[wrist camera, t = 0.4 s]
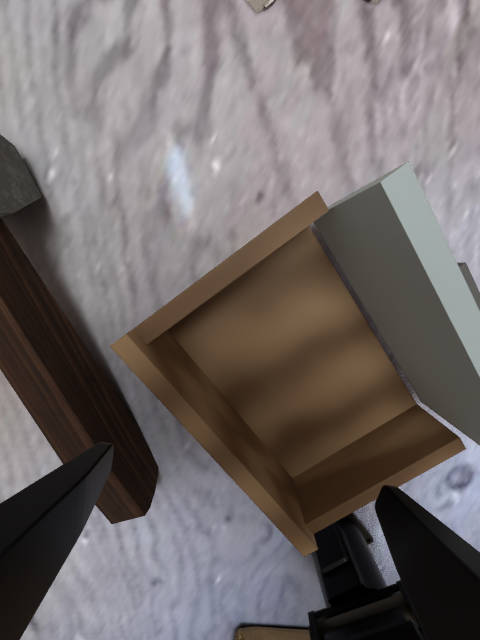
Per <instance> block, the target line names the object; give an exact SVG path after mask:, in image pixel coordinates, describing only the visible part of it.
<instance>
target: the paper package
mask: <svg viewBox="0 0 480 640" xmlns="http://www.w3.org/2000/svg"><path fill="white" fill-rule="evenodd" d="M234 640H311V639H310V633H309V630H301V629H285V628H271V627H259V626H256V627H246V628H239V629H238V630H237V632H236V634H235V637H234Z"/></svg>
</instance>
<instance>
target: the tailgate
mask: <svg viewBox="0 0 480 640" xmlns="http://www.w3.org/2000/svg"><path fill="white" fill-rule="evenodd" d="M327 208H328V210H329V211H328V212H327V213H325V214H324V215H322V216H321V217H320V218H318V219H317V220H316V221H314V224H315V226H316V227H317V229H318V231H319V232H320V234H321V236H322V237H323V239H324V241H325V242H326V244H327V246H328V247H329V249H330V251H331V252H332V254H333V256H334V257H335V259H336V261H337V262H338V264H339V266H340V267H341V269H342V271H343V272H344V274H345V276H346V277H347V279H348V281H349V282H350V284H351V286H352V287H353V289H354V291H355V292H356V294H357V296H358V297H359V299H360V301H361V302H362V304H363V306H364V307H365V309H366V311H367V312H368V314H369V316H370V317H371V319H372V321H373V322H374V324H375V326H376V328H377V329H378V331H379V333H380V334H381V336H382V338H383V339H384V341H385V343H386V344H387V346H388V348H389V349H390V351H391V353H392V354H393V356H394V358H395V359H396V361H397V363H398V364H399V366H400V368H401V369H402V371H403V373H404V374H405V376H406V378H407V379H408V381H409V383H410V384H411V386H412V388H413V389H414V391H415V393H416V394H417V396H418V398H419V399H420V401H421V402H422V403H423V404H425V405H426V406H427V407H429V408H430V409H431V410H433V411H434V412H435V413H437V414H438V415H439V416H441V417H442V418H443V419H445V420H446V421H448V422H449V423H450V424H452V425H453V426H454V427H456V428H457V429H458V430H460V431H461V432H462V433H464V434H465V435H466V436H468V437H469V438H470V439H472V440H473V441H474V442H476V443H477V444H478V445H480V292H479V290H478V288H477V286H476V284H475V282H474V279H473V277H472V275H471V273H470V271H469V269H468V266H467V264H466V263H457V262H456V260H455V258H454V256H453V253H452V251H451V249H450V247H449V245H448V243H447V241H446V239H445V236H444V234H443V232H442V230H441V228H440V226H439V224H438V222H437V219H436V217H435V215H434V213H433V211H432V209H431V207H430V205H429V202H428V200H427V198H426V196H425V194H424V192H423V190H422V188H421V185H420V183H419V181H418V179H417V177H416V175H415V173H414V171H413V168H412V166H411V164H410V162H409V161H408V162H407V163H405V164H403V165H401V166H399V167H398V168H396V169H394V170H392V171H391V172H389V173H387V174H385V175H383V176H382V177H380V178H378V179H376V180H375V181H373V182H371V183H369V184H368V185H366V186H364V187H362V188H360V189H359V190H357V191H355V192H353V193H352V194H350V195H348V196H346V197H345V198H343V199H341V200H339V201H337V202H336V203H334V204H332V205H330V206H329V207H327Z"/></svg>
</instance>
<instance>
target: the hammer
mask: <svg viewBox="0 0 480 640" xmlns="http://www.w3.org/2000/svg"><path fill="white" fill-rule="evenodd" d="M40 198H41V194H40V191H39V189H38V187H37V185H36V183H35V181H34V180H33V178H32V176H31V174H30V172H29V170H28V168H27V166H26V164H25V162H24V161H23V159H22V157H21V156H20V154H19V152H18V151H17V149H16V147H15V146H14V145H13V144H12V143H10V142H9V141H8V140H6V139H5V138H4V137H3V136H1V135H0V369H1V371H2V372H3V374H4V375H5V377H6V378H7V380H8V381H9V383H10V384H11V386H12V387H13V389H14V391H15V392H16V394H17V395H18V397H19V398H20V400H21V401H22V403H23V404H24V406H25V407H26V409H27V410H28V412H29V413H30V415H31V416H32V418H33V419H34V421H35V422H36V424H37V425H38V427H39V428H40V430H41V431H42V433H43V434H44V436H45V437H46V439H47V440H48V442H49V443H50V445H51V446H52V448H53V449H54V451H55V452H56V454H57V455H58V457H59V458H60V460H61V461H62V463H63V464H65V463H67V462H68V461H70V460H71V459H73V458H75V457H76V456H78V455H80V454H81V453H83V452H84V451H86V450H88V449H89V448H91V447H92V446H94V445H96V444H97V443H100V442H105V443H111V444H113V446H114V450H113V460H112V467H111V471H110V473H109V476H108V478H107V480H106V482H105V484H104V486H103V488H102V491H101V493H100V495H99V497H98V499H97V501H96V503H95V505H96V506H97V507H98V508H99V510H100V511H101V512H102V513H103V514H104V516H105V517H106V518H107V519H108V520H109V521H110V523H111V524H114V523H118V522H122V521H126V520H130V519H134V518H138V517H141V516H145V514H146V513H147V511H148V510H149V508H150V506H151V503H152V499H153V496H154V493H155V488H156V483H157V477H158V466H157V464H156V462H155V460H154V457H153V455H152V453H151V451H150V449H149V446H148V445H147V443H146V441H145V439H144V437H143V435H142V434H141V432H140V430H139V428H138V426H137V424H136V423H135V421H134V419H133V417H132V416H131V414H130V413H129V411H128V410H127V408H126V407H125V405H124V404H123V402H122V401H121V399H120V398H119V396H118V395H117V393H116V392H115V390H114V389H113V387H112V385H111V384H110V382H109V381H108V379H107V378H106V376H105V375H104V373H103V372H102V370H101V369H100V367H99V366H98V364H97V363H96V361H95V360H94V358H93V357H92V355H91V354H90V352H89V351H88V349H87V348H86V346H85V345H84V343H83V342H82V340H81V339H80V337H79V335H78V334H77V332H76V331H75V329H74V328H73V326H72V325H71V323H70V322H69V320H68V319H67V317H66V316H65V314H64V313H63V311H62V310H61V308H60V307H59V305H58V304H57V302H56V301H55V299H54V298H53V296H52V295H51V293H50V292H49V290H48V289H47V287H46V285H45V284H44V282H43V281H42V279H41V278H40V276H39V275H38V273H37V272H36V270H35V269H34V267H33V266H32V264H31V263H30V261H29V260H28V258H27V257H26V255H25V254H24V252H23V251H22V249H21V248H20V246H19V245H18V243H17V242H16V240H15V239H14V237H13V235H12V234H11V232H10V231H9V229H8V228H7V226H6V225H5V223H4V222H3V220H2V219H1V217H3V216H6V215H10V214H13V213H15V212H17V211H18V210H20V209H22V208H24V207H25V206H27V205H29V204H31V203H32V202H34V201H36V200H38V199H40Z"/></svg>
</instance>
